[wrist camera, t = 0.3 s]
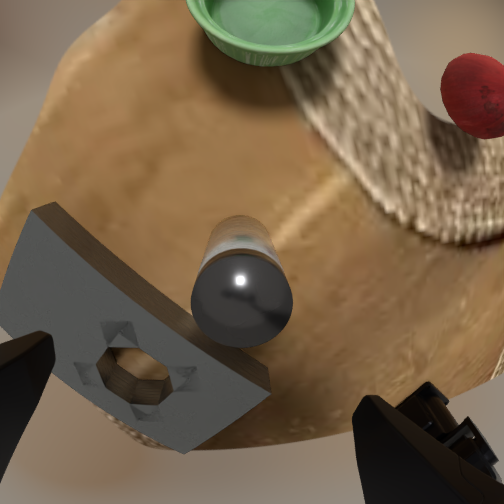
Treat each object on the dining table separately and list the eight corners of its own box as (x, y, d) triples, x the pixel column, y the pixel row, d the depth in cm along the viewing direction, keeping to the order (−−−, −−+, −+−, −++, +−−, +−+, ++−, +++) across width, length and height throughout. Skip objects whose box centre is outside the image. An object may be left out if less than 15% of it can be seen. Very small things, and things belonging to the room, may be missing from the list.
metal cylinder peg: (284, 243, 19) (313, 300, 12) (242, 286, 20) (246, 362, 13) (236, 202, 19) (236, 236, 11) (195, 249, 19) (170, 310, 12)
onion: (472, 147, 18) (548, 156, 10) (416, 124, 17) (497, 119, 10) (475, 81, 16) (547, 71, 8) (421, 52, 16) (493, 24, 8)
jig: (267, 367, 23) (271, 393, 20) (187, 430, 25) (184, 454, 22) (55, 201, 18) (31, 209, 15) (11, 302, 20) (-8, 318, 17)
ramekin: (267, -49, 13) (274, -83, 9) (359, 30, 15) (387, 6, 11) (166, 16, 15) (150, -14, 10) (261, 103, 17) (269, 87, 13)
